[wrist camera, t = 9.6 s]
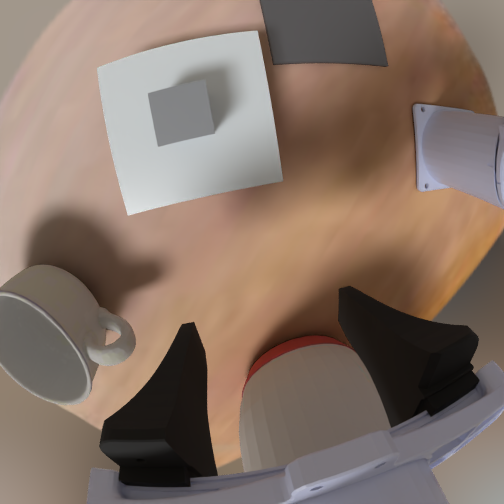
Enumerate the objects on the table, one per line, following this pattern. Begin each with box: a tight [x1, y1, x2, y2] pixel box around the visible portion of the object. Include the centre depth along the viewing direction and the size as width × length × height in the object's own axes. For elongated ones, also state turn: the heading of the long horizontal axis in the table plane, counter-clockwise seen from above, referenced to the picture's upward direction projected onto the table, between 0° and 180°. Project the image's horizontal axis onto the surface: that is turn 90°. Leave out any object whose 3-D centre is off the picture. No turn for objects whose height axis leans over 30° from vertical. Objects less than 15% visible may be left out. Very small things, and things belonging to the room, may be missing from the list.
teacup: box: [0, 265, 136, 405], centre depth 18 cm, size 14×11×8 cm
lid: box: [97, 31, 283, 215], centre depth 12 cm, size 9×9×4 cm
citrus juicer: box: [239, 335, 391, 472], centre depth 20 cm, size 16×17×20 cm
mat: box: [260, 0, 388, 67], centre depth 14 cm, size 10×10×1 cm
